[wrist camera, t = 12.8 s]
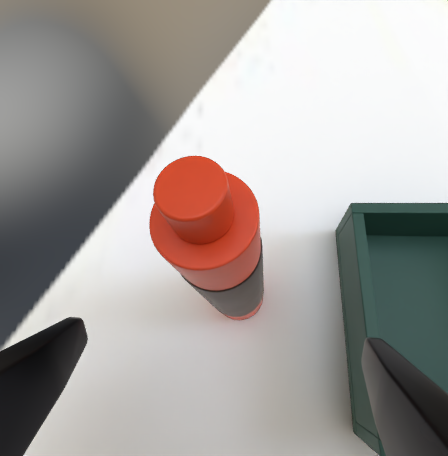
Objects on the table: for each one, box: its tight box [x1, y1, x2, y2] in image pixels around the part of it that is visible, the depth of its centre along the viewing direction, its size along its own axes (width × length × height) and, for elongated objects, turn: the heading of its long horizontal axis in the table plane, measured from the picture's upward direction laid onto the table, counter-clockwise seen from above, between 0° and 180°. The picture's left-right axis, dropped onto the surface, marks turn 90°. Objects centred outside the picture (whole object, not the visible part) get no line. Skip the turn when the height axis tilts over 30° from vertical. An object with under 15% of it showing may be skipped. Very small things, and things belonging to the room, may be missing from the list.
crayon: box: [150, 156, 264, 320], centre depth 12 cm, size 3×3×13 cm
